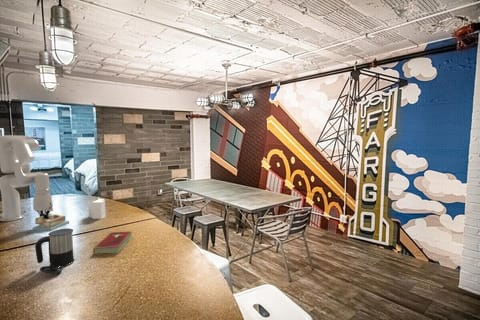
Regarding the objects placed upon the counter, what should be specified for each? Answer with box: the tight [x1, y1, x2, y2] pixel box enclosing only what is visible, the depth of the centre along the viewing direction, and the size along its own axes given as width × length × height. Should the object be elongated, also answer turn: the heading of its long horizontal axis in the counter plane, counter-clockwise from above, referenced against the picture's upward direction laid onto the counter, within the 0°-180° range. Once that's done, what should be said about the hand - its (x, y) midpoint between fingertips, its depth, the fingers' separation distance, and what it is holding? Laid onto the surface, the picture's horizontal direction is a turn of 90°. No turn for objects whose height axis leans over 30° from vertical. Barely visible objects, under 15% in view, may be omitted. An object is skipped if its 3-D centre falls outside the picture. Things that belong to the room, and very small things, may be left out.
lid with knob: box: [32, 213, 70, 232], centre depth 163 cm, size 13×14×8 cm
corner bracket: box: [88, 198, 107, 220], centre depth 184 cm, size 11×11×12 cm
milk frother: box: [34, 228, 75, 275], centre depth 110 cm, size 14×16×15 cm
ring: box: [34, 212, 66, 227], centre depth 163 cm, size 11×11×4 cm
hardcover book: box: [92, 230, 133, 255], centre depth 134 cm, size 12×21×4 cm, turn 6°
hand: (44, 219), depth 164 cm, fingers closed
